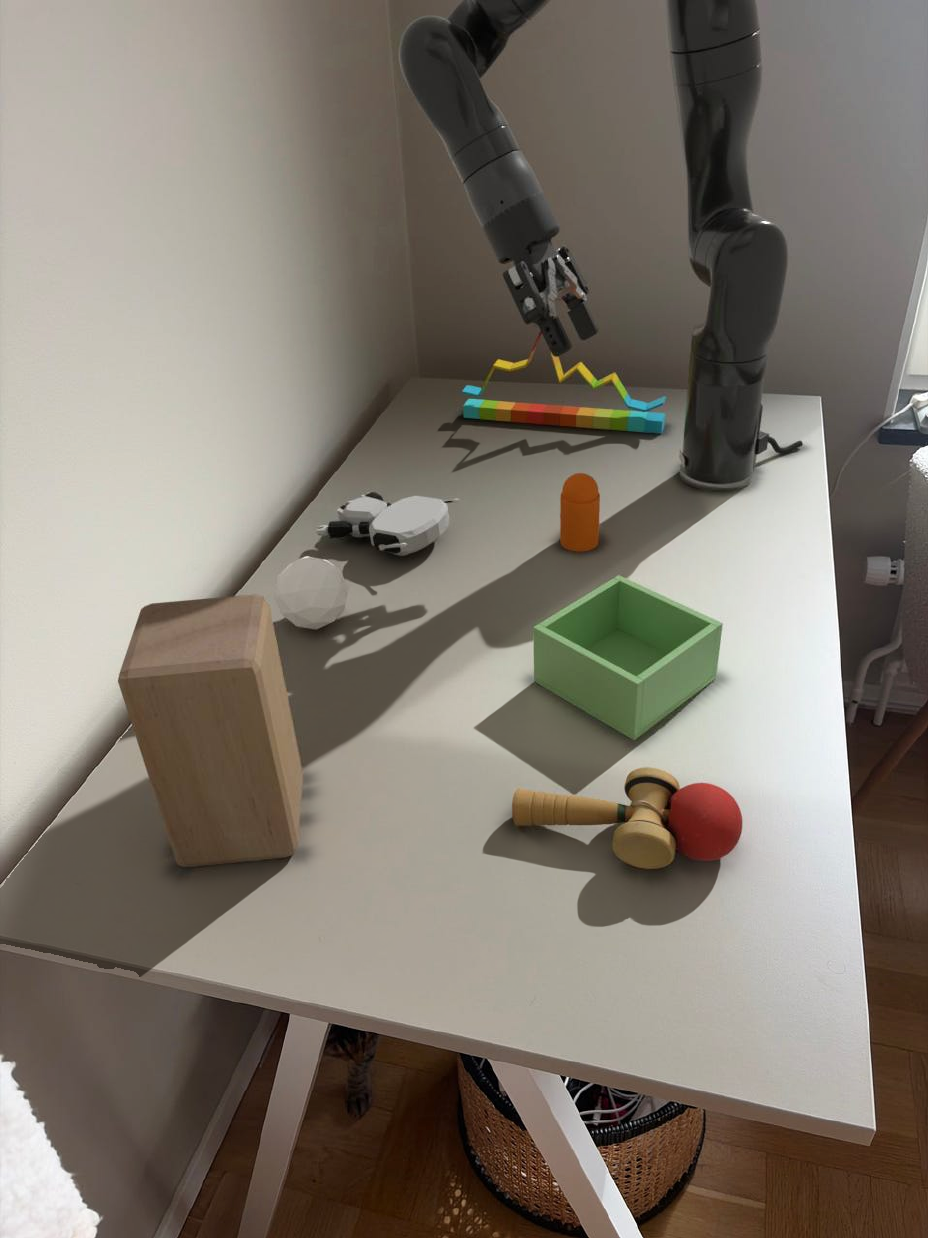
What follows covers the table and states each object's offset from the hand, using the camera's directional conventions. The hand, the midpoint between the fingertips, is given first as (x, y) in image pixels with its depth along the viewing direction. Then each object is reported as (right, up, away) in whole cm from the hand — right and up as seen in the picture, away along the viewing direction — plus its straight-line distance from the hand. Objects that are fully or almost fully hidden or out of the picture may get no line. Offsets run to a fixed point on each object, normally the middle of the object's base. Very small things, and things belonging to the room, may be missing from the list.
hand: (577, 344), depth 109 cm
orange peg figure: (+1, -21, +9) cm, 23 cm away
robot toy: (-22, -21, +12) cm, 33 cm away
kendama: (0, -49, -30) cm, 57 cm away
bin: (+3, -37, -13) cm, 39 cm away
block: (-31, -48, -26) cm, 63 cm away
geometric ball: (-29, -31, -2) cm, 43 cm away
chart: (+2, -1, +39) cm, 39 cm away
